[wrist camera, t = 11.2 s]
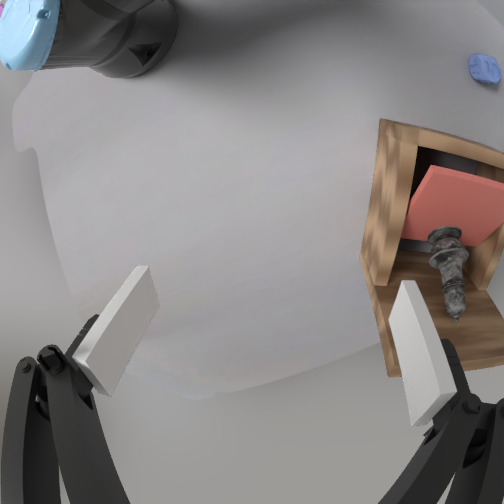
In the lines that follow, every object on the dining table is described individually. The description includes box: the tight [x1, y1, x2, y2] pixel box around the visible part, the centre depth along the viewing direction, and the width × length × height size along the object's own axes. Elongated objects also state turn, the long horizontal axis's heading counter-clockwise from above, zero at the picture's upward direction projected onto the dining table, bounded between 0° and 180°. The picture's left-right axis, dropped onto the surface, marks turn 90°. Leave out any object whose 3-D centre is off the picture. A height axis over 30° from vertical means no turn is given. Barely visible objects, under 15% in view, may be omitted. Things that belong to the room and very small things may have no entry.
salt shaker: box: [428, 226, 469, 323], centre depth 29 cm, size 6×6×12 cm
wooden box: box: [359, 119, 504, 377], centre depth 27 cm, size 22×20×23 cm
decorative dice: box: [469, 54, 501, 85], centre depth 22 cm, size 4×4×4 cm
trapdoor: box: [400, 165, 504, 247], centre depth 28 cm, size 14×15×1 cm
